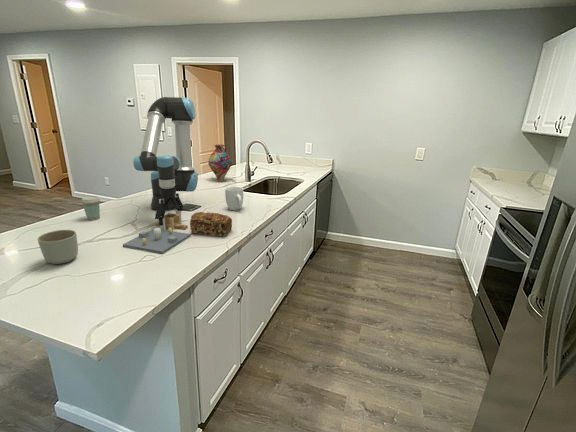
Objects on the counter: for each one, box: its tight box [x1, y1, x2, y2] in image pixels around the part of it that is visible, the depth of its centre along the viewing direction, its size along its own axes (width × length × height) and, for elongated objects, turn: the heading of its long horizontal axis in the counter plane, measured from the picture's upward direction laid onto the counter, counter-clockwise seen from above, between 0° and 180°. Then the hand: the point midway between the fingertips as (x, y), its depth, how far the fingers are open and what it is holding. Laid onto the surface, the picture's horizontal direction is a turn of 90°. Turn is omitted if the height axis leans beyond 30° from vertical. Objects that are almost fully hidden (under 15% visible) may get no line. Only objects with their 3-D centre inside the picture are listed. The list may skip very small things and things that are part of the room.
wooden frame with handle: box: [154, 212, 188, 231], centre depth 165 cm, size 18×7×6 cm, turn 73°
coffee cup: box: [81, 195, 101, 221], centre depth 172 cm, size 8×9×12 cm
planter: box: [37, 229, 79, 265], centre depth 126 cm, size 12×12×11 cm
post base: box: [122, 227, 191, 255], centre depth 147 cm, size 21×21×6 cm
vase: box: [207, 144, 233, 183], centre depth 262 cm, size 19×19×30 cm
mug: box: [224, 186, 244, 211], centre depth 194 cm, size 15×11×13 cm
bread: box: [189, 211, 233, 237], centre depth 159 cm, size 19×11×10 cm, turn 80°
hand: (171, 226), depth 166 cm, fingers open, 13 cm apart
